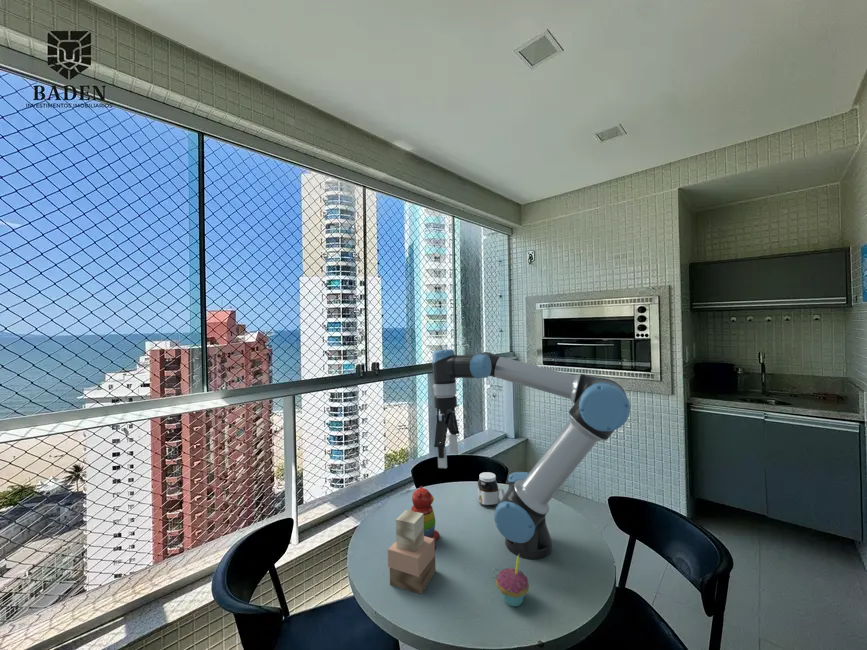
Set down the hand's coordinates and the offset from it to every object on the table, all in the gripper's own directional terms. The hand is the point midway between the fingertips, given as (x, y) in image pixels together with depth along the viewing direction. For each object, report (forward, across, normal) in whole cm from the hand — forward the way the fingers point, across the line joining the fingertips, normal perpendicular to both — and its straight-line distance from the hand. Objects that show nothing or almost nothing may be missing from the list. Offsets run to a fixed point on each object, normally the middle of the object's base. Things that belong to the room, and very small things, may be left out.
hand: (448, 460), depth 114 cm
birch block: (+19, +16, -8) cm, 26 cm away
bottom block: (+29, +15, -8) cm, 34 cm away
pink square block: (+24, +15, -8) cm, 30 cm away
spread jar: (+30, -35, +8) cm, 47 cm away
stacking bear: (+29, -2, -11) cm, 31 cm away
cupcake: (+30, +16, +20) cm, 40 cm away
